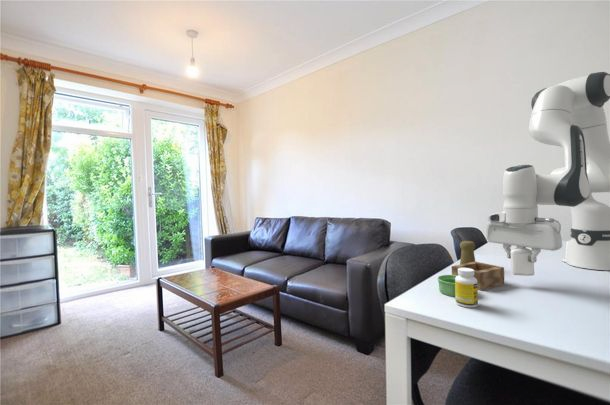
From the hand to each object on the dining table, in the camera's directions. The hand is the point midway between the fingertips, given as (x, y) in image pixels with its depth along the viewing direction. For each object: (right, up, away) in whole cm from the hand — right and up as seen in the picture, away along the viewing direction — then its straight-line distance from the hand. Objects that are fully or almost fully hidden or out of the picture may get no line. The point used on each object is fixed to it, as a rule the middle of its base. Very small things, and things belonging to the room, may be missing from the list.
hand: (521, 260), depth 91 cm
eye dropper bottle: (0, -5, 0) cm, 5 cm away
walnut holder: (-11, -9, +5) cm, 15 cm away
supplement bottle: (-24, -10, -12) cm, 29 cm away
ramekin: (-23, -10, -2) cm, 25 cm away
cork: (-4, -8, +22) cm, 24 cm away
